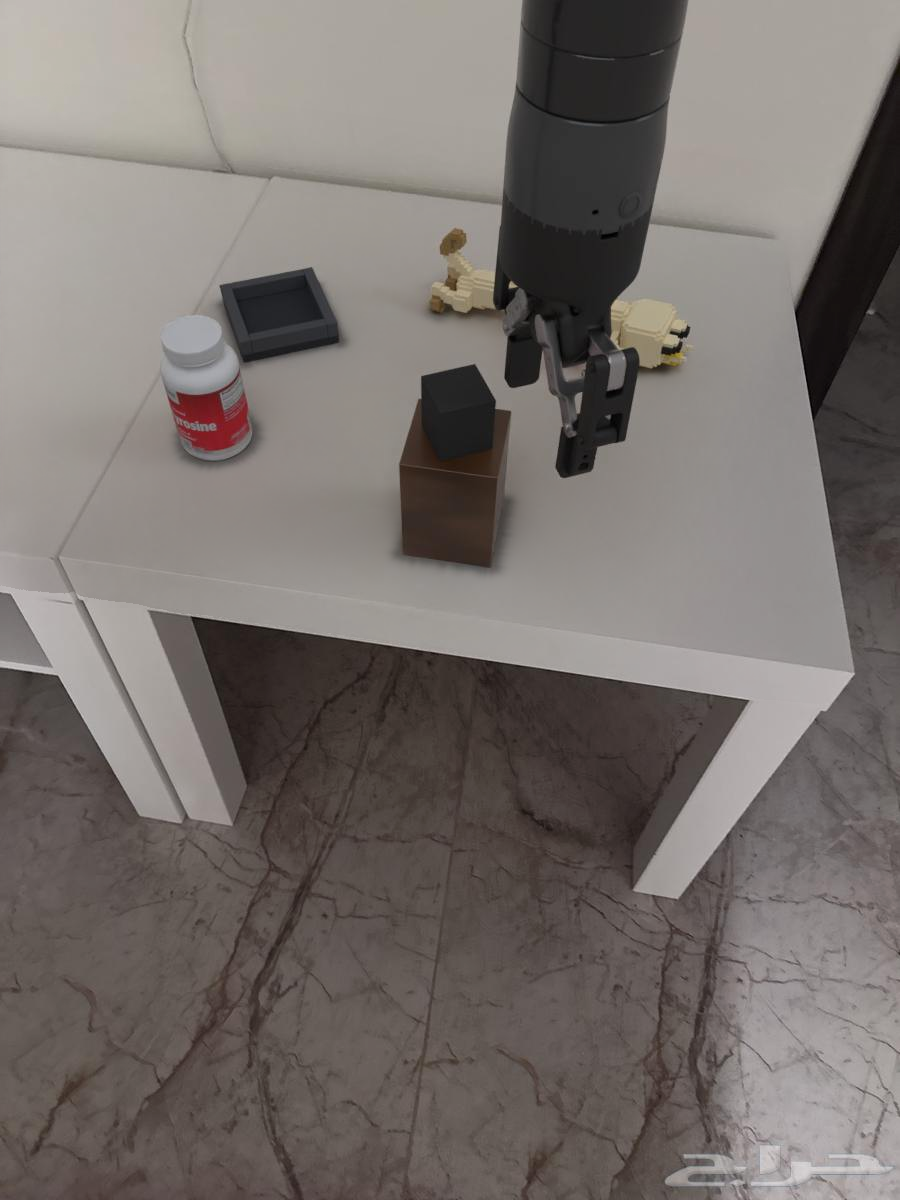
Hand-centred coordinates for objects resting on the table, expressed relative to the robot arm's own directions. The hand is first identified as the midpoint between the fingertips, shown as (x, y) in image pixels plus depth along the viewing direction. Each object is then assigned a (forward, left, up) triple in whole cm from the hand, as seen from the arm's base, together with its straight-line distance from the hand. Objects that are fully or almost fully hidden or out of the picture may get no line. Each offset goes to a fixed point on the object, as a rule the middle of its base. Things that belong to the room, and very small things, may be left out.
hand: (546, 425), depth 59 cm
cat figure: (+15, +27, -16) cm, 34 cm away
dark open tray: (-10, +37, -16) cm, 41 cm away
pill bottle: (-19, +23, -16) cm, 34 cm away
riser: (-3, +7, -16) cm, 18 cm away
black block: (-3, +7, -6) cm, 10 cm away
